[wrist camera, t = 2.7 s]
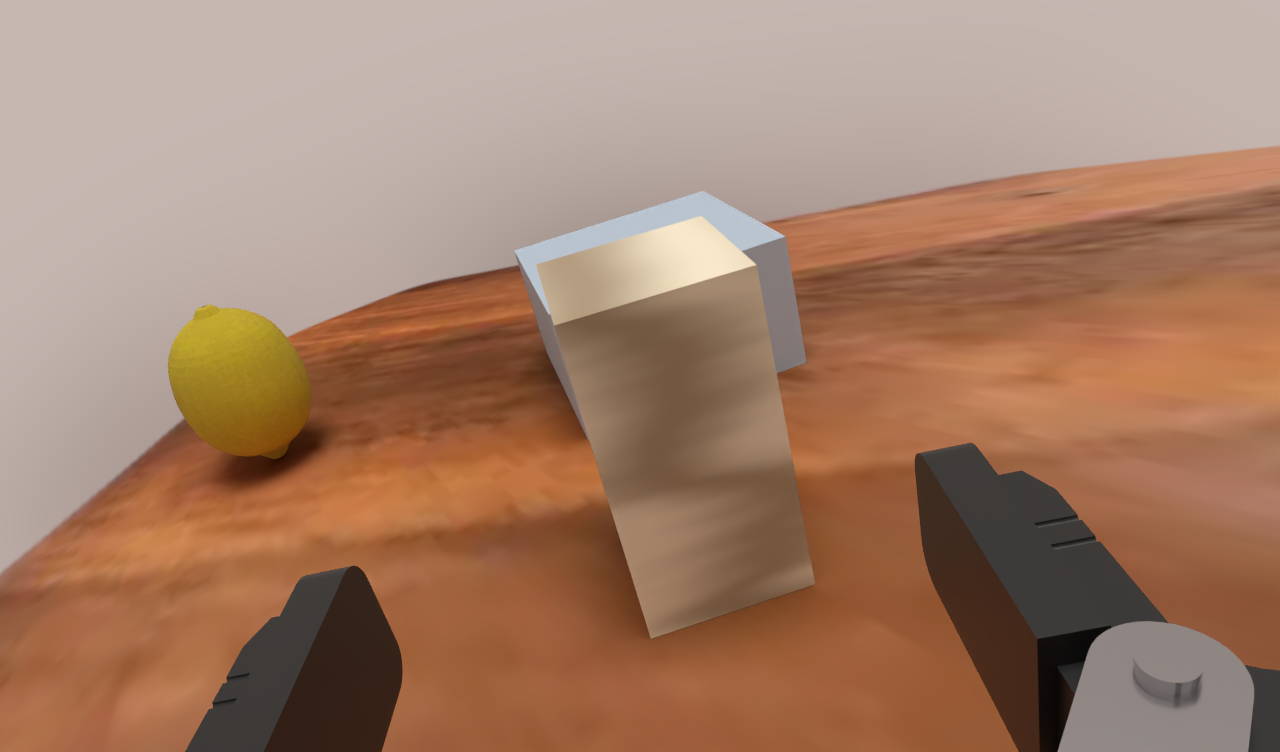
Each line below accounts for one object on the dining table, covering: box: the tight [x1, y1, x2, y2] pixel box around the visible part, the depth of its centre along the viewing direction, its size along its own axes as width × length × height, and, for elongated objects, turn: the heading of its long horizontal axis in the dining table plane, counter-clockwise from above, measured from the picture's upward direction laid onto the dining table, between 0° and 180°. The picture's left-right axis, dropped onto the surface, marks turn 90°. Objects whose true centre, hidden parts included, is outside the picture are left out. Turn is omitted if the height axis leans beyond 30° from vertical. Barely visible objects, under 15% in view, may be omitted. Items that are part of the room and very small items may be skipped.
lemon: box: [168, 305, 312, 459], centre depth 38 cm, size 6×6×8 cm
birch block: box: [536, 216, 815, 639], centre depth 24 cm, size 5×5×10 cm
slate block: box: [515, 191, 807, 440], centre depth 39 cm, size 10×10×6 cm
